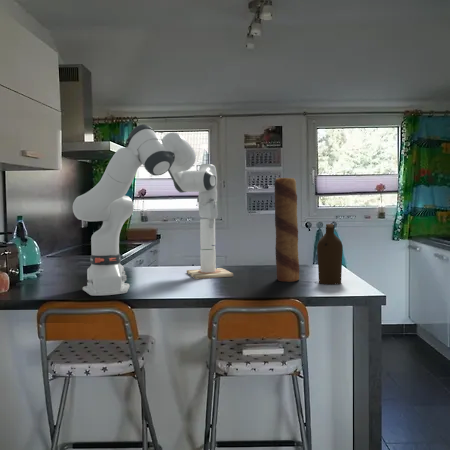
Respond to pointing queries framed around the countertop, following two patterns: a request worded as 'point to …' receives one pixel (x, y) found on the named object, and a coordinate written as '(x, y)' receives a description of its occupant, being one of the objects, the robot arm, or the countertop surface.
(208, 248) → the cylindrical container
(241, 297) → the countertop surface
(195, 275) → the seat board
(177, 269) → the countertop surface
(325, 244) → the olive oil
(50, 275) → the countertop surface
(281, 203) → the wafer roll
